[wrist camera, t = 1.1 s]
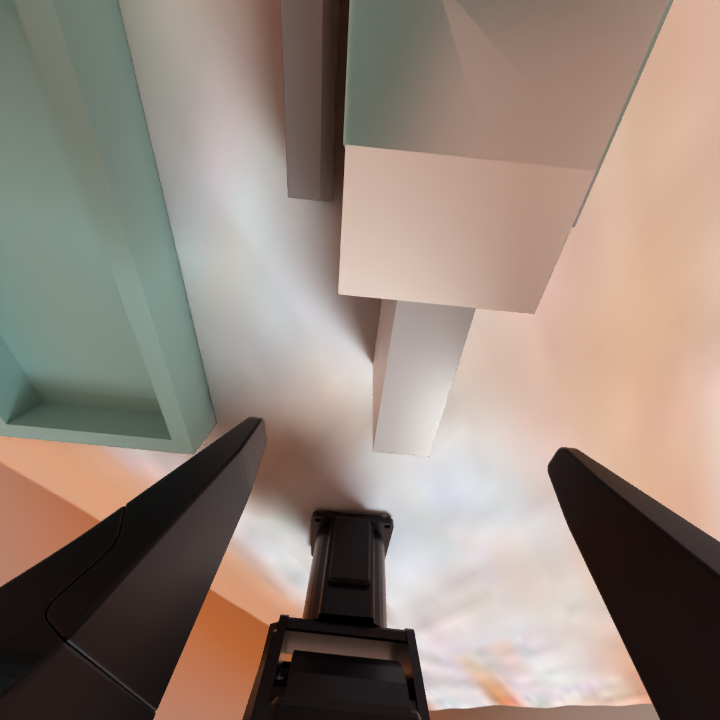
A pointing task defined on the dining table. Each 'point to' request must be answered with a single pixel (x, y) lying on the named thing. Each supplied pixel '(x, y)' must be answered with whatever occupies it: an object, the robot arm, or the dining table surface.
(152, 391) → the tray
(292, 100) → the bay
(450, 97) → the teal striped block
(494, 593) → the dining table surface
